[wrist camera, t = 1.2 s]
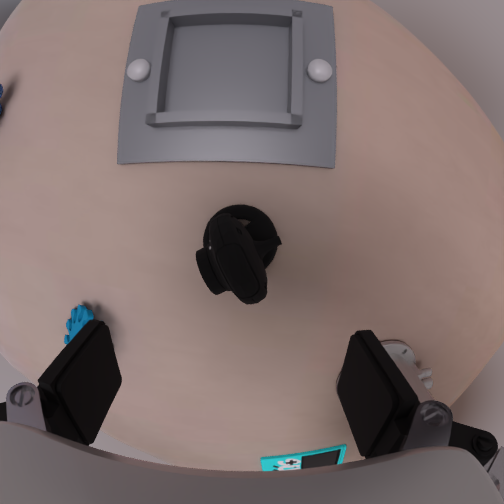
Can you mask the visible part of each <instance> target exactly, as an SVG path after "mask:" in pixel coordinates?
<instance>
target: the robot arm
mask: <svg viewBox="0 0 504 504" xmlns="http://www.w3.org/2000/svg"><path fill="white" fill-rule="evenodd" d="M415 362H416V360H415V355H414V353H413V351H412V350H411V348H410V347H409V346H408V345H406V344H405V343H403V342H400V341H393V340H392V341H384V342H381V343H380V341H379V340H378V339H377V337H376V336H375V335H374V333H373V332H372V331H371V330H361V331H356V332H355V335H352V336H351V338H350V341H349V345H348V349H347V353H346V356H345V360H344V364H343V367H342V371H341V373H340V375H339V377H338V380H337V384H336V391H337V395H338V397H339V399H340V402H341V404H342V407H343V410H344V412H345V415H346V417H347V420H348V423H349V425H350V428H351V431H352V434H353V436H354V439H355V442H356V444H357V447H358V450H359V453H360V455H361V456H365V458H366V459H364V460H359V461H354V462H348V463H343V464H336V465H330V466H323V467H315V468H306V469H296V470H281V471H220V470H206V469H195V468H186V467H178V466H171V465H164V464H159V463H153V462H148V461H142V460H138V459H134V458H129V457H125V456H121V455H117V454H113V453H110V452H106V451H103V450H99V449H96V448H93V447H90V446H89V444H92V443H93V442H94V440H95V438H96V436H97V434H98V432H99V430H100V427H101V425H102V423H103V421H104V419H105V417H106V415H107V412H108V410H109V408H110V406H111V404H112V402H113V400H114V398H115V396H116V394H117V392H118V390H119V388H120V386H121V382H122V377H121V374H120V370H119V367H118V363H117V359H116V356H115V352H114V348H113V344H112V340H111V335H110V331H109V327H108V326H107V325H105V323H104V322H103V321H98V320H89V321H88V322H87V323H86V324H85V325H84V326H83V327H82V328H81V329H80V331H79V332H78V333H77V334H76V335H75V336H74V337H73V339H72V340H71V341H70V342H69V343H68V344H67V345H66V347H65V348H64V349H63V350H62V351H61V352H60V354H59V355H58V356H57V357H56V358H55V360H54V361H53V362H52V363H51V364H50V366H49V367H48V368H47V369H46V370H45V372H44V373H43V374H42V375H41V377H40V378H39V379H38V382H39V385H38V387H36V386H35V385H34V384H32V383H28V382H22V383H18V384H16V385H14V386H13V387H11V389H10V390H9V391H8V393H7V397H6V402H3V403H0V504H504V447H502V446H501V448H500V449H498V445H497V444H498V443H497V440H496V439H495V437H494V436H493V435H492V434H491V433H489V432H487V431H484V430H480V429H477V428H473V427H470V426H467V425H463V424H460V423H457V422H454V421H453V415H452V412H451V410H450V409H449V407H448V406H447V405H445V404H444V403H442V402H439V401H435V399H434V398H433V397H432V395H431V394H430V392H429V391H428V390H427V389H430V388H431V387H432V384H433V381H432V379H431V378H430V377H428V376H431V375H432V369H431V368H426V369H422V370H419V369H418V368H417V366H416V365H415ZM422 377H423V378H424V377H428V378H424V379H421V378H422Z"/></svg>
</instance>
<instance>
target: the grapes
mask: <svg viewBox="0 0 504 504" xmlns="http://www.w3.org/2000/svg"><path fill="white" fill-rule="evenodd" d="M2 93H3V87H2V85H1V84H0V98H1V96H2ZM1 111H2V105H1V104H0V114H1Z"/></svg>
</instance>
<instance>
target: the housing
mask: <svg viewBox="0 0 504 504" xmlns="http://www.w3.org/2000/svg"><path fill="white" fill-rule="evenodd" d="M336 119H337V82H336V50H335V33H334V19H333V7H332V6H328V5H323V4H317V3H311V2H305V1H298V0H171V1H164V2H158V3H152V4H147V5H142V6H139V8H138V12H137V15H136V19H135V24H134V28H133V32H132V37H131V42H130V47H129V52H128V57H127V63H126V69H125V76H124V83H123V90H122V99H121V108H120V119H119V133H118V152H117V164H131V163H149V162H178V161H228V162H257V163H276V164H290V165H303V166H314V167H324V168H335V153H336Z"/></svg>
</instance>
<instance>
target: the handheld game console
mask: <svg viewBox="0 0 504 504" xmlns="http://www.w3.org/2000/svg"><path fill="white" fill-rule="evenodd" d="M345 451H346V444H343V445H339V446H334V447H329V448H325V449H319V450H314V451H308V452H302V453H295V454H288V455H279V456H270V457H261V465H262V470H263V471H281V470H296V469H306V468H315V467H323V466H330V465H336V464H342V462H343V458H344V455H345Z"/></svg>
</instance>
